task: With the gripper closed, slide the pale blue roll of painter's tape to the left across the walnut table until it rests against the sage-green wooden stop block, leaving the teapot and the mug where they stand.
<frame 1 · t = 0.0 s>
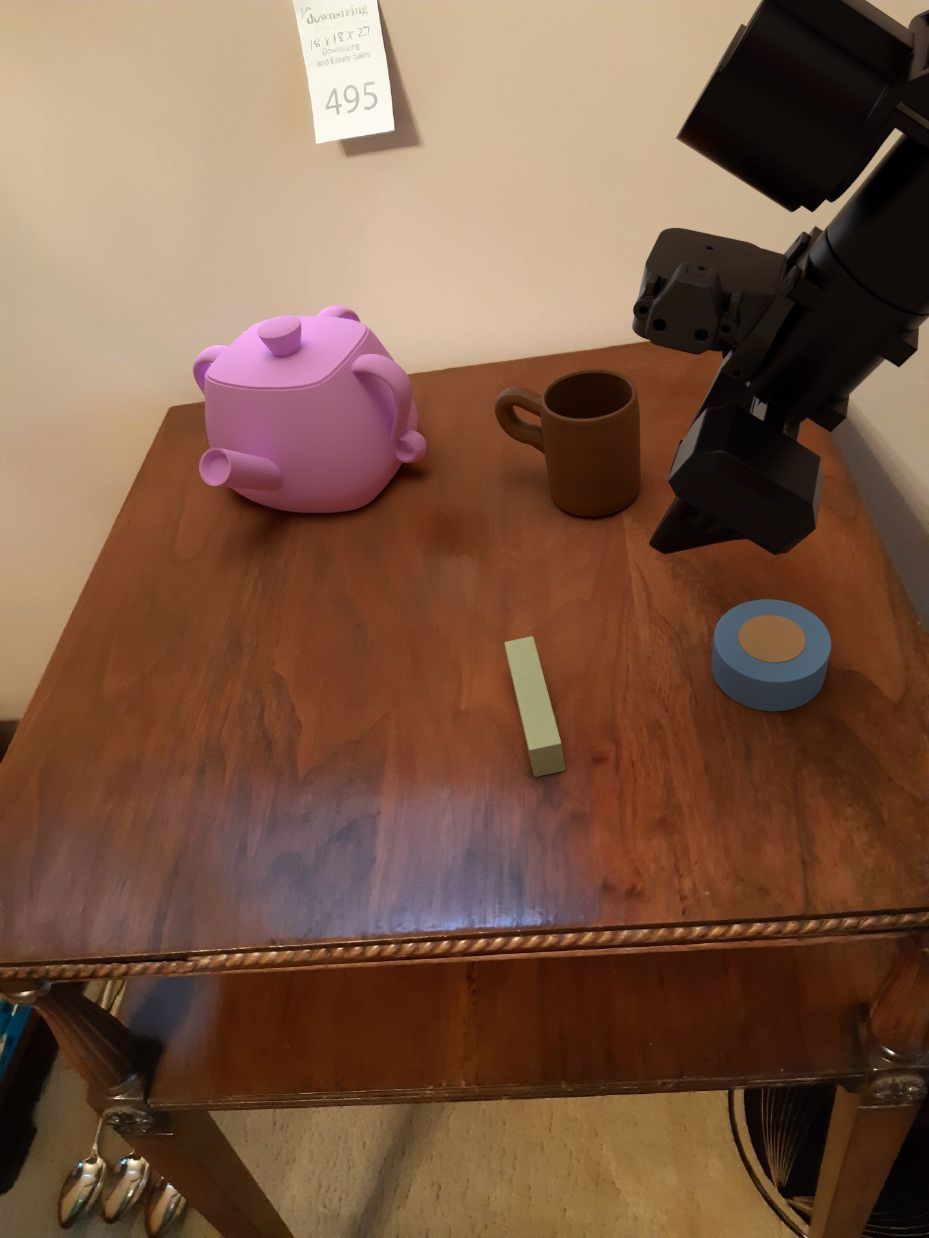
hand: (674, 493, 47), 14 cm above the table, tool tilted 35°, fingers open, 9 cm apart
teapot: (318, 476, 79), on the table
stop block: (536, 717, 55), on the table
tape roll: (767, 668, 55), on the table
mug: (570, 489, 71), on the table
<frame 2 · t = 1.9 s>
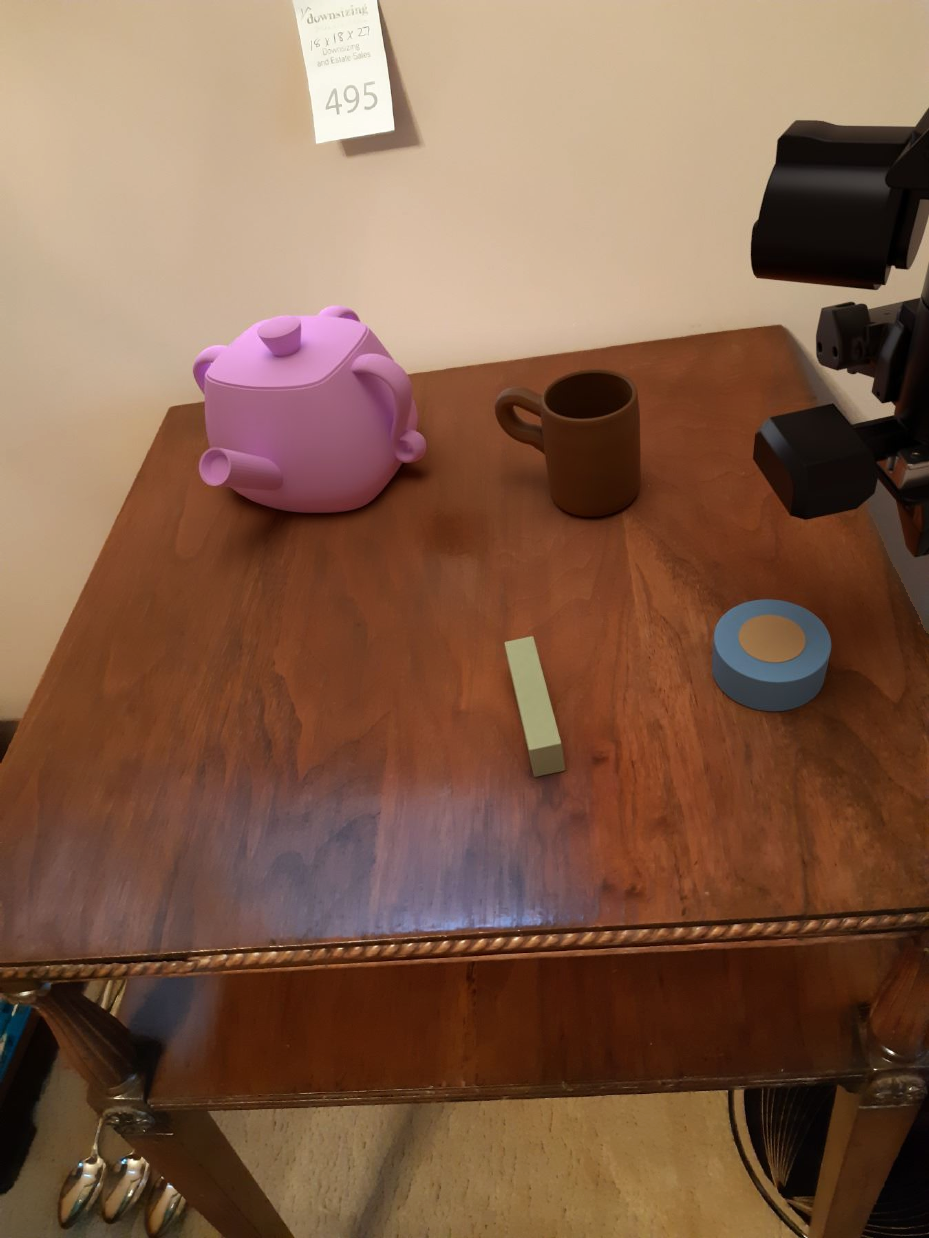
hand: (916, 551, 49), 8 cm above the table, tool pointing down, fingers closed
nothing on the table moved.
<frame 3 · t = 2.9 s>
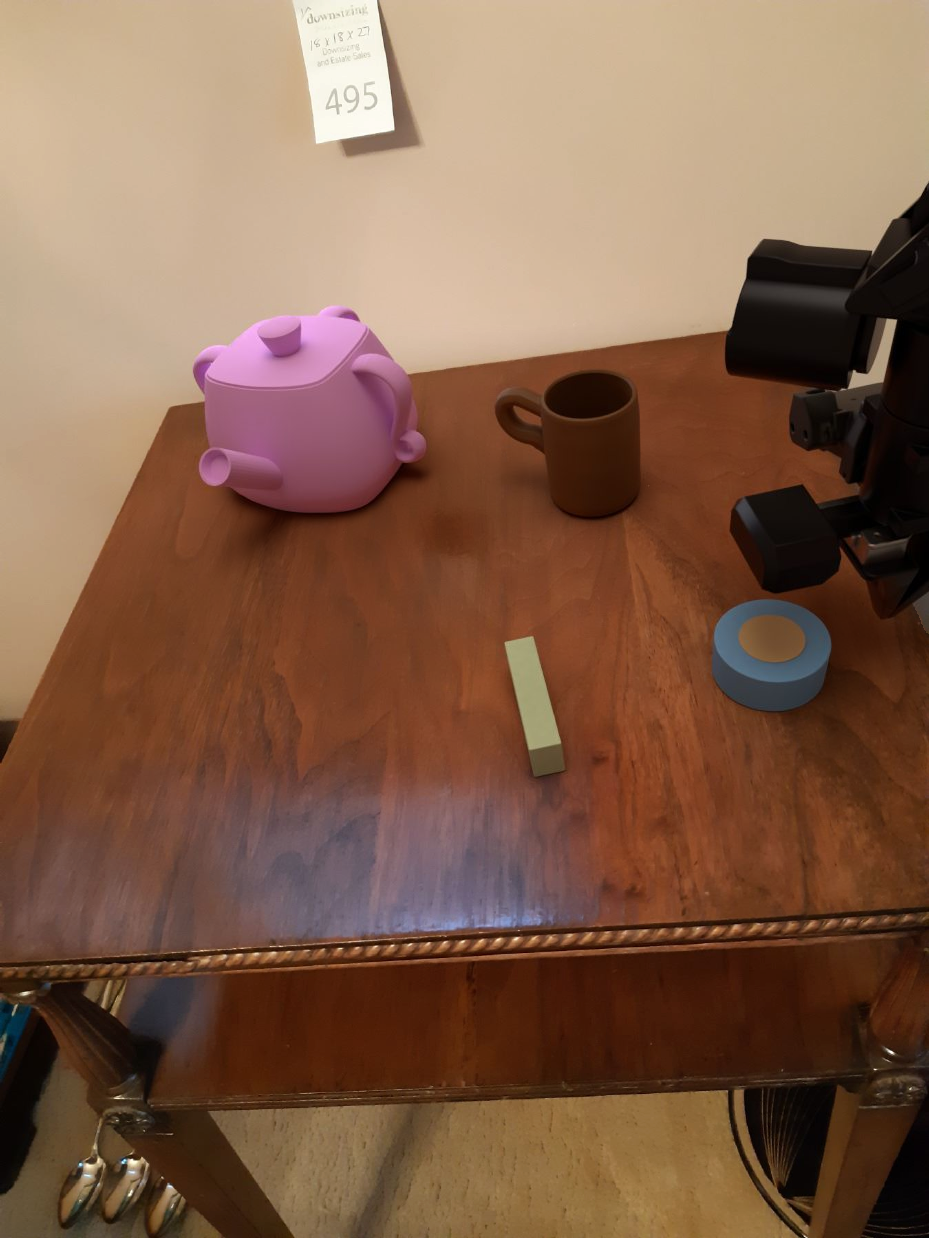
hand: (882, 613, 53), 3 cm above the table, tool pointing down, fingers closed
nothing on the table moved.
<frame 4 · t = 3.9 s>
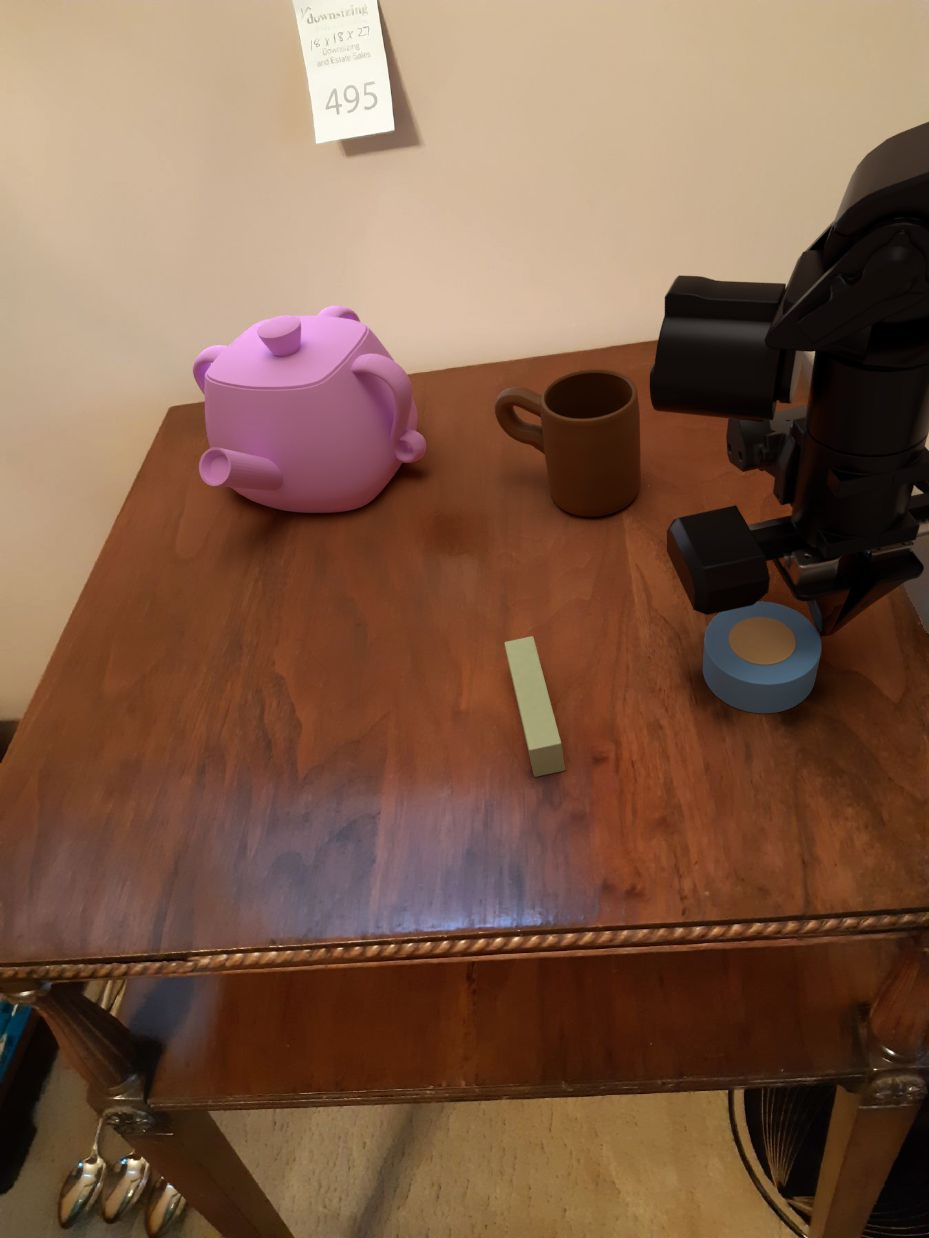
hand: (823, 630, 53), 3 cm above the table, tool pointing down, fingers closed
tape roll: (758, 670, 55), on the table, touching gripper
everything else where it was.
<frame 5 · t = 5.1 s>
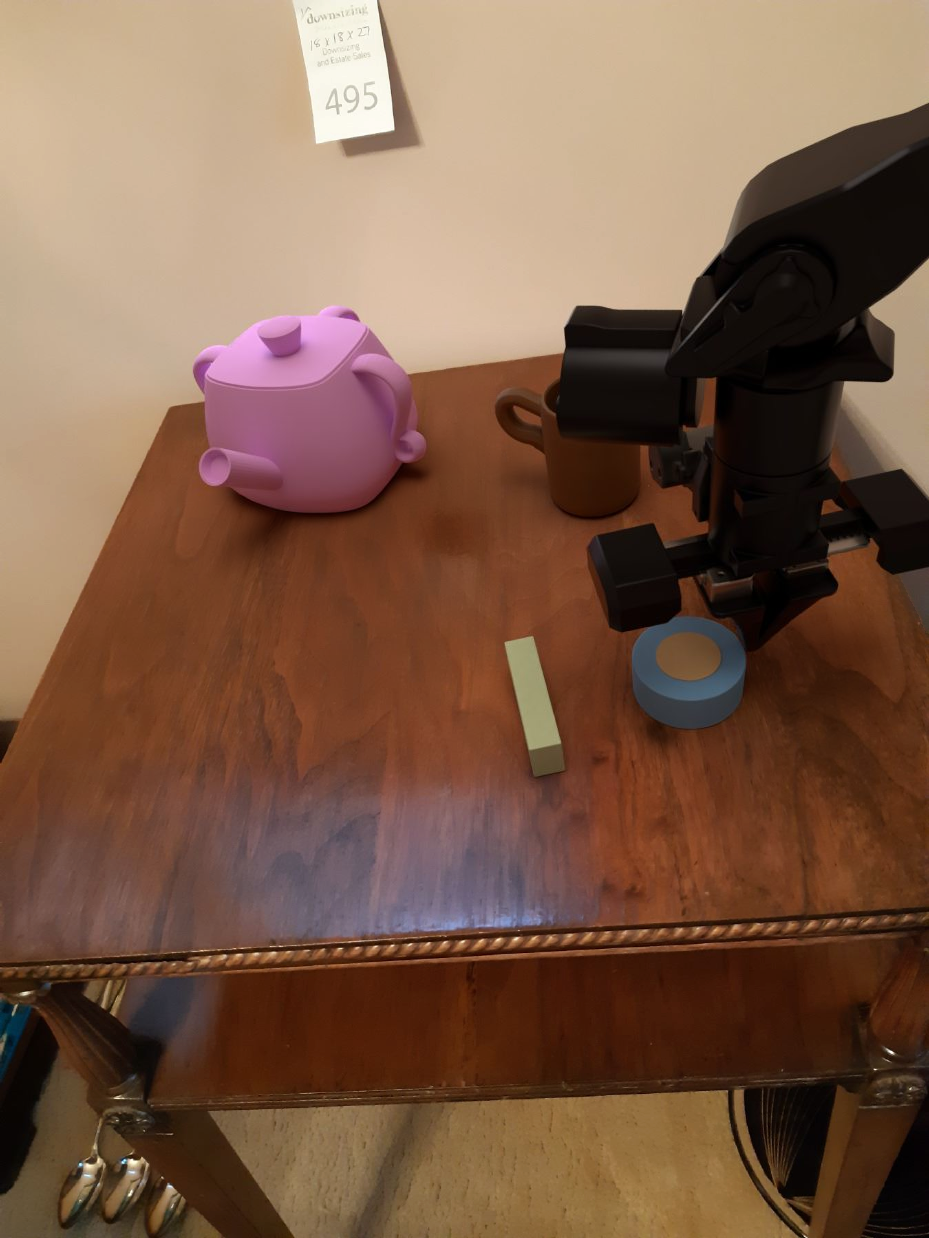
hand: (749, 646, 53), 3 cm above the table, tool pointing down, fingers closed
tape roll: (687, 685, 55), on the table, touching gripper
everything else where it was.
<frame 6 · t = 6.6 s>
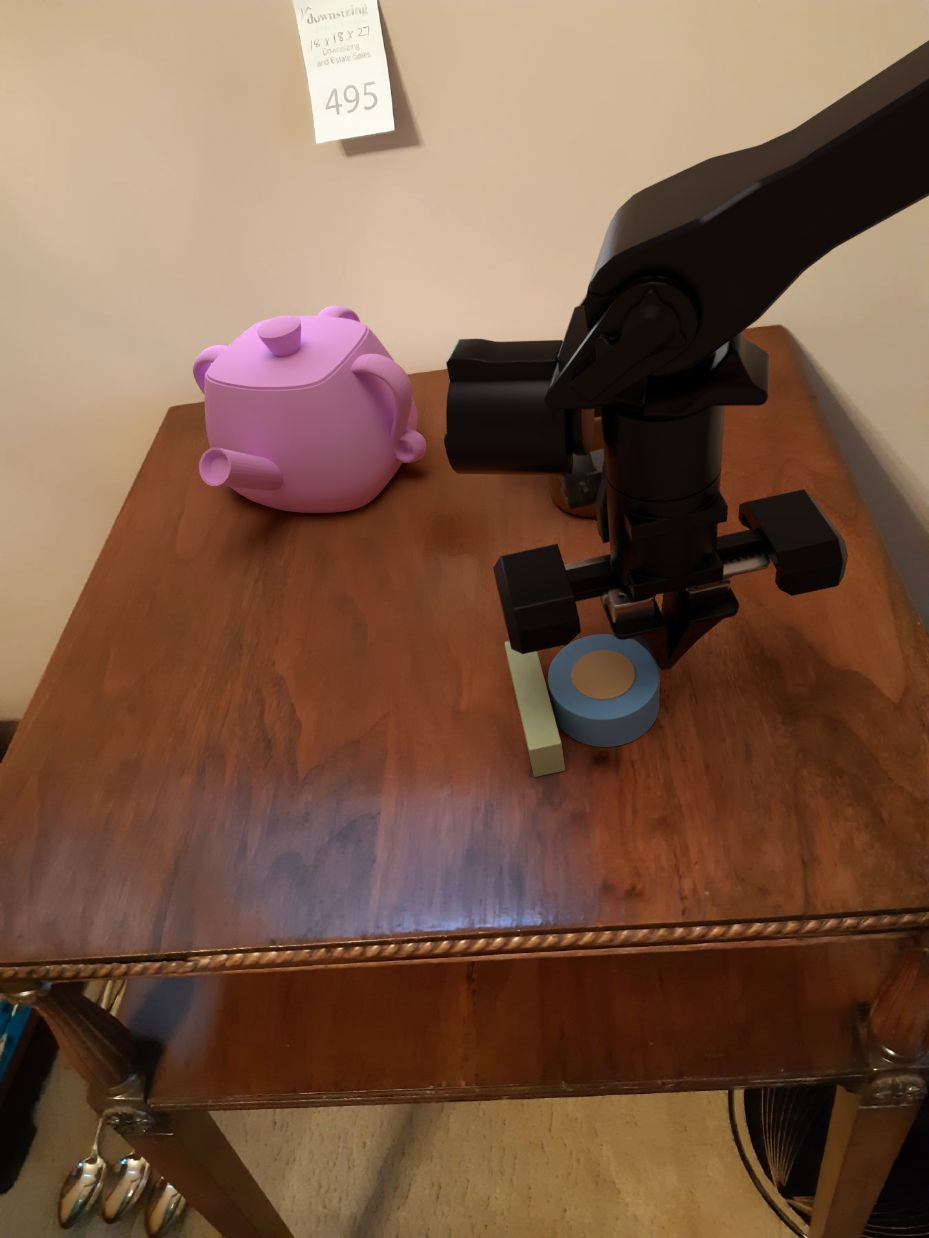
hand: (663, 664, 53), 3 cm above the table, tool pointing down, fingers closed
tape roll: (605, 703, 55), on the table, touching gripper
everything else where it was.
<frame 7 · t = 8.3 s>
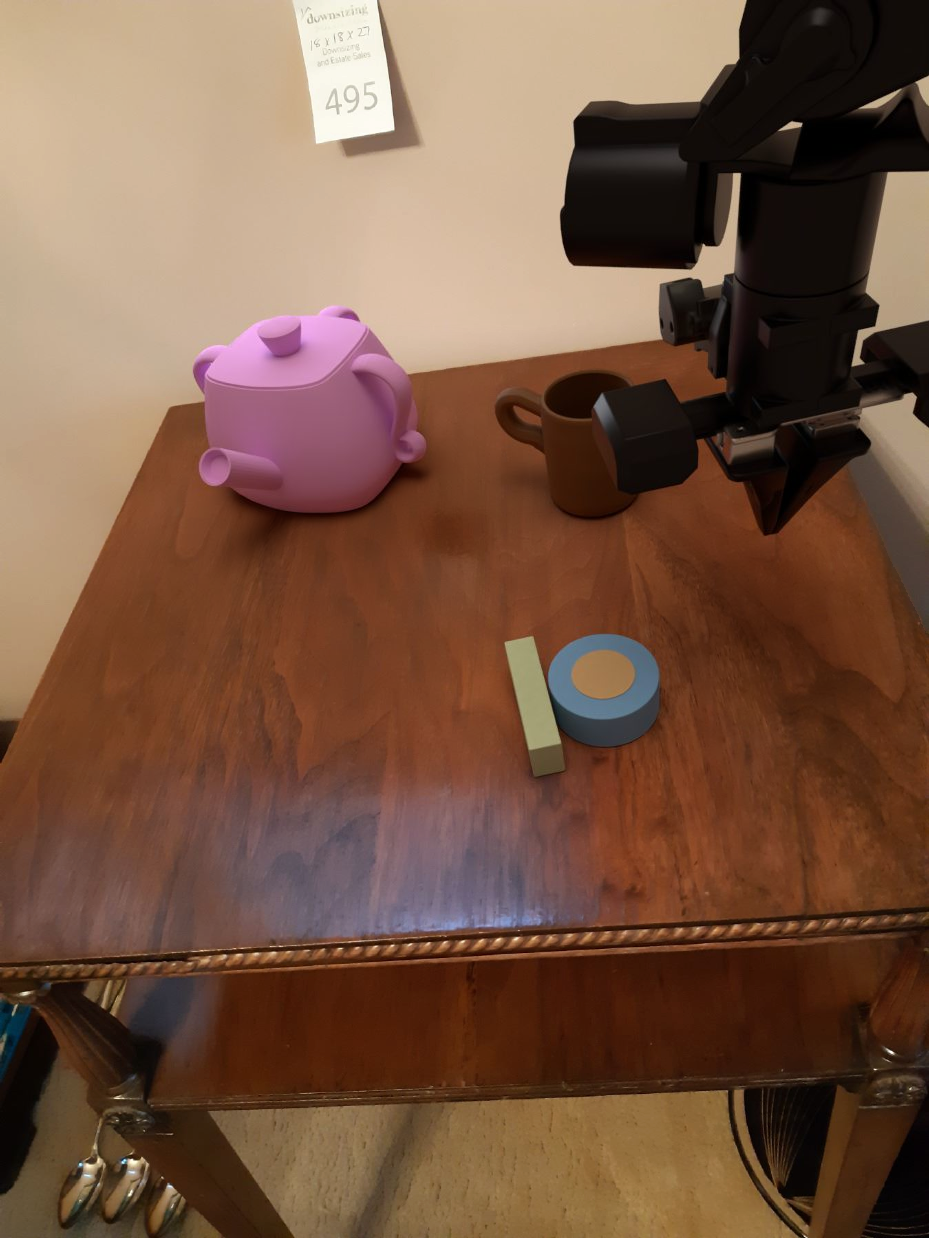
hand: (767, 530, 49), 11 cm above the table, tool pointing down, fingers closed
tape roll: (605, 703, 55), on the table
everything else where it was.
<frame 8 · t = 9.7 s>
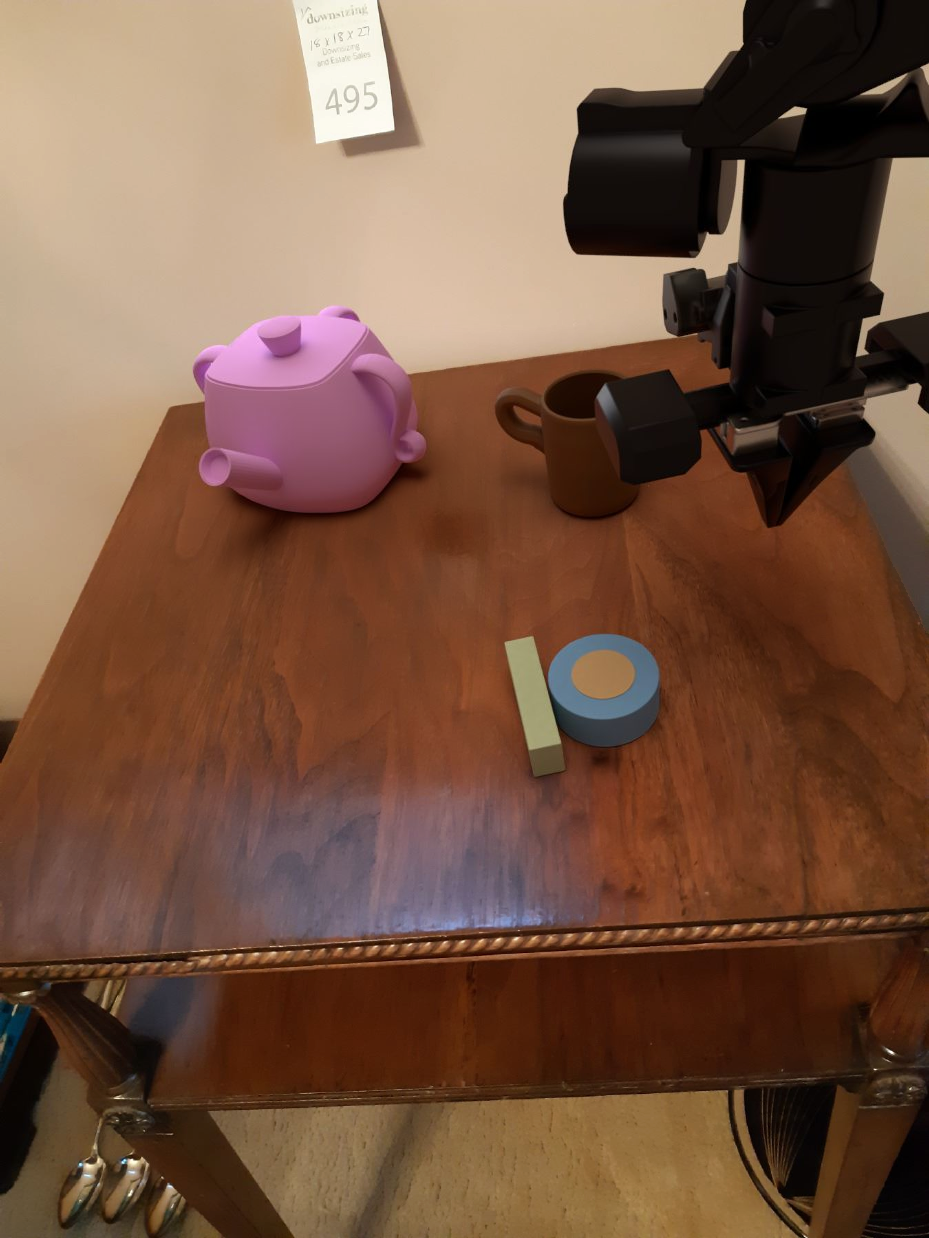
hand: (771, 522, 49), 11 cm above the table, tool pointing down, fingers closed
nothing on the table moved.
at the end: tape roll 0.3 cm from the target spot on the table beside the stop block, on the table; tape roll tilted 0°; teapot moved 0.2 cm from its start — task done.
